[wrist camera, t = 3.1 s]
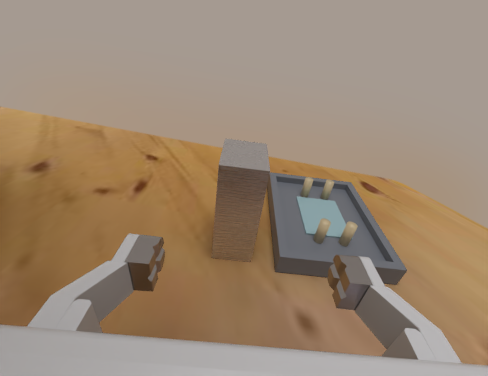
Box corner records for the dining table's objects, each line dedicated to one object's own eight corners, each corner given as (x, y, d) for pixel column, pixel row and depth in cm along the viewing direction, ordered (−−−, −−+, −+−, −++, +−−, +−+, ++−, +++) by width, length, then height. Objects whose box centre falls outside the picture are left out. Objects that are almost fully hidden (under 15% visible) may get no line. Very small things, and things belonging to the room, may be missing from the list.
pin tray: (275, 271, 27) (284, 243, 25) (267, 184, 42) (271, 161, 40) (396, 284, 28) (416, 258, 25) (345, 194, 43) (355, 172, 40)
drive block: (211, 258, 28) (218, 164, 21) (217, 222, 33) (225, 138, 26) (250, 262, 28) (270, 171, 21) (251, 225, 33) (266, 143, 27)
